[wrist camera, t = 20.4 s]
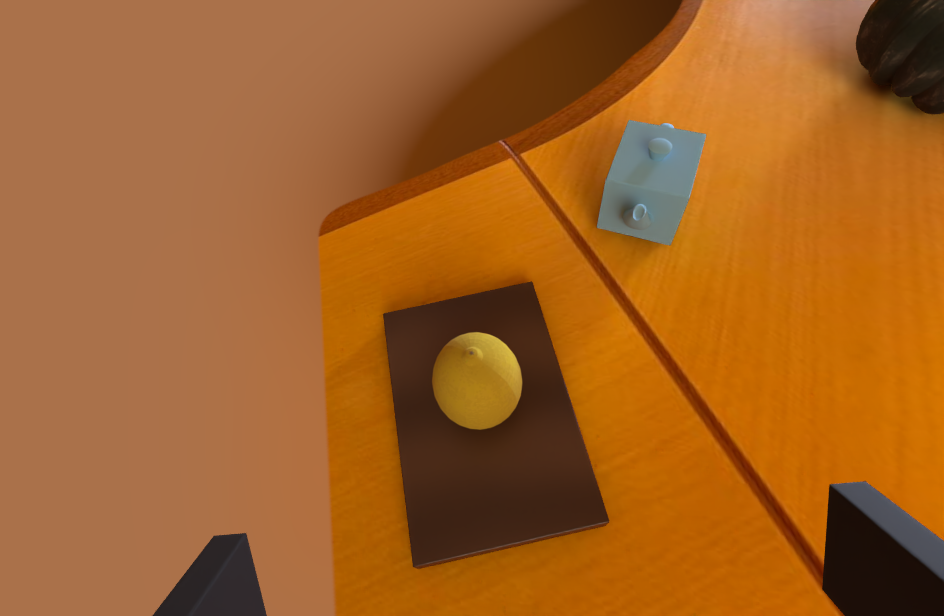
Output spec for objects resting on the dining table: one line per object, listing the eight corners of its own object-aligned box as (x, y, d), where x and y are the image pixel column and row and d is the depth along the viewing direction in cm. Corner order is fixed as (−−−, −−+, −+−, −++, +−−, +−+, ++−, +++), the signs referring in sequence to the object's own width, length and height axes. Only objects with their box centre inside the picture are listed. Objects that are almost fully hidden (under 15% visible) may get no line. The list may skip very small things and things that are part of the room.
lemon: (538, 396, 34) (541, 342, 27) (489, 461, 32) (480, 421, 25) (475, 353, 36) (463, 294, 29) (425, 412, 34) (401, 363, 27)
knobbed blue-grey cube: (658, 284, 39) (684, 221, 33) (584, 264, 41) (595, 200, 35) (687, 181, 45) (714, 109, 38) (620, 167, 46) (635, 96, 40)
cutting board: (606, 525, 31) (610, 522, 29) (417, 569, 30) (412, 567, 29) (531, 291, 40) (532, 280, 39) (387, 322, 40) (382, 313, 39)
